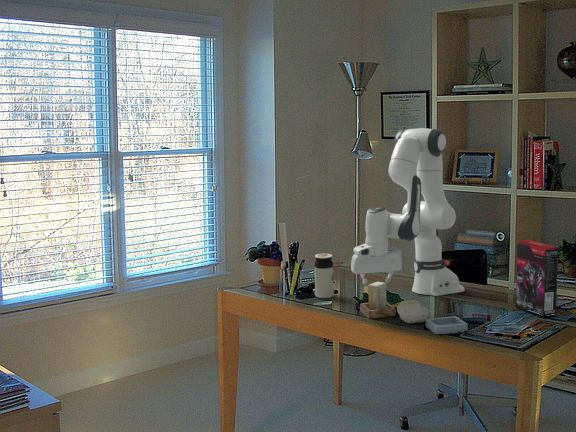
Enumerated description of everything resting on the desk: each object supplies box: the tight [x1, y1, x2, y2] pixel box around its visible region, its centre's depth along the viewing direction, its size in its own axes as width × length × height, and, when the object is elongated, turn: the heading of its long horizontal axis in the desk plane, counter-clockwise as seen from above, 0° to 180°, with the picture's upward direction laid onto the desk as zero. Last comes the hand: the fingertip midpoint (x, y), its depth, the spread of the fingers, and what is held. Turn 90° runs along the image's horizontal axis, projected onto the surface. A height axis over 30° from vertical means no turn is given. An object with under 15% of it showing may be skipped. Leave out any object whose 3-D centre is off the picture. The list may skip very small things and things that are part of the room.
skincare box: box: [367, 281, 387, 310], centre depth 311 cm, size 6×4×12 cm
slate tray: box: [425, 315, 468, 336], centre depth 290 cm, size 12×10×3 cm
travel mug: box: [314, 253, 335, 299], centre depth 338 cm, size 8×8×18 cm
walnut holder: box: [359, 301, 397, 319], centre depth 312 cm, size 11×11×3 cm
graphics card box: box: [514, 239, 559, 316], centre depth 306 cm, size 17×7×27 cm, turn 23°
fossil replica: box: [396, 299, 430, 324], centre depth 300 cm, size 12×8×10 cm
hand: (376, 283), depth 310 cm, fingers open, 8 cm apart
